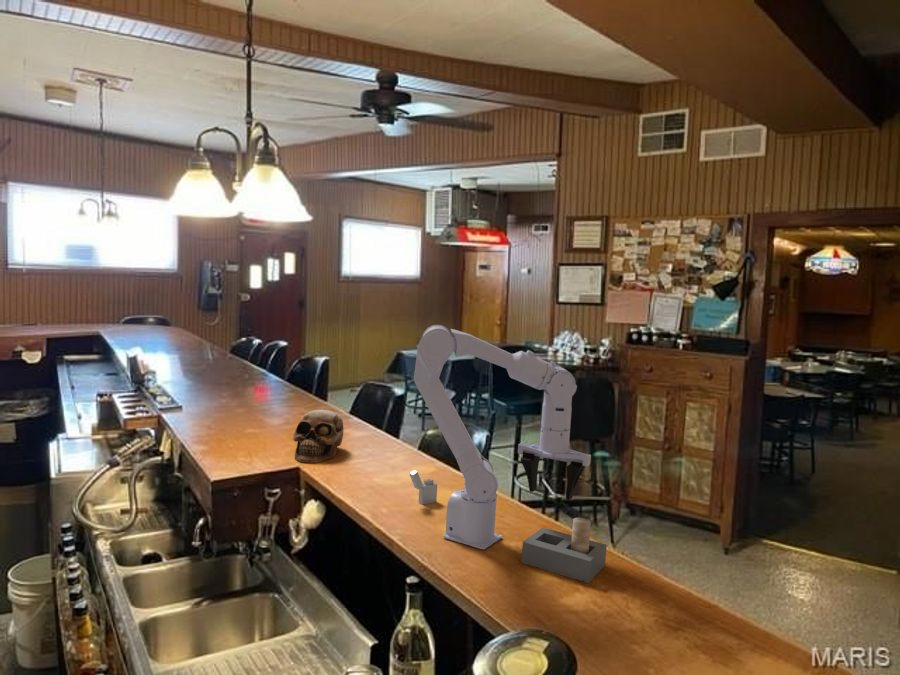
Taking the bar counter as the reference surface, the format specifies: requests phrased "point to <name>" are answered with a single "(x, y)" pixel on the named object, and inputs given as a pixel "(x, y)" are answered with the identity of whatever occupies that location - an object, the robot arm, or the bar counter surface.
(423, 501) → the lighter
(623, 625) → the bar counter surface
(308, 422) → the brown skull
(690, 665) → the bar counter surface
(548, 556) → the socket block
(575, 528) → the dowel
